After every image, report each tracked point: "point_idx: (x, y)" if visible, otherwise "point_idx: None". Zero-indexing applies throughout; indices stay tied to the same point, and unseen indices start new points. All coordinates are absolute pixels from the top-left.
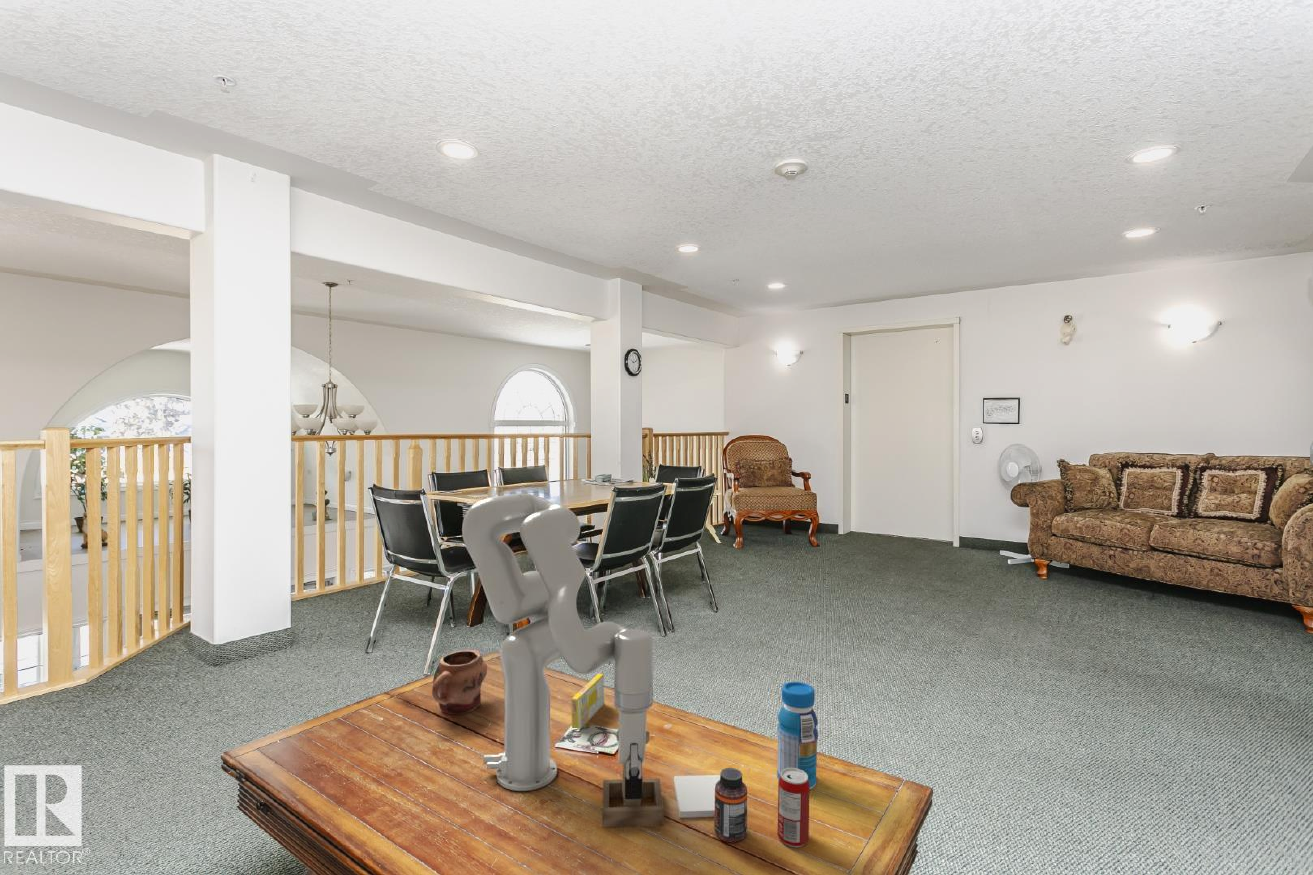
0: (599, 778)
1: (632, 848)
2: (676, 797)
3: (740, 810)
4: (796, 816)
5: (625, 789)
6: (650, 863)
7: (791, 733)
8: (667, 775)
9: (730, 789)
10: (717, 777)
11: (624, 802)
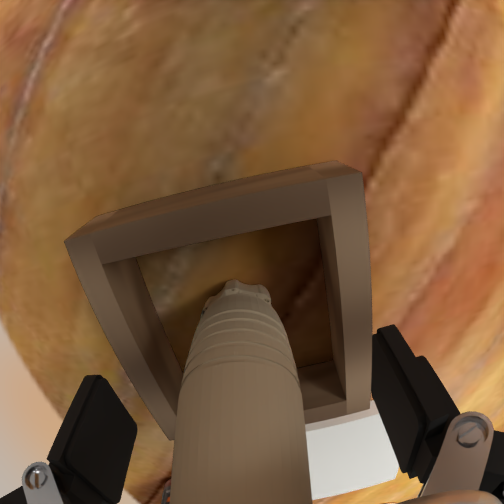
0: (448, 126)
1: (49, 331)
2: None
3: None
4: None
5: (71, 409)
6: (31, 371)
7: None
8: (443, 365)
9: None
10: (389, 468)
11: (213, 303)
